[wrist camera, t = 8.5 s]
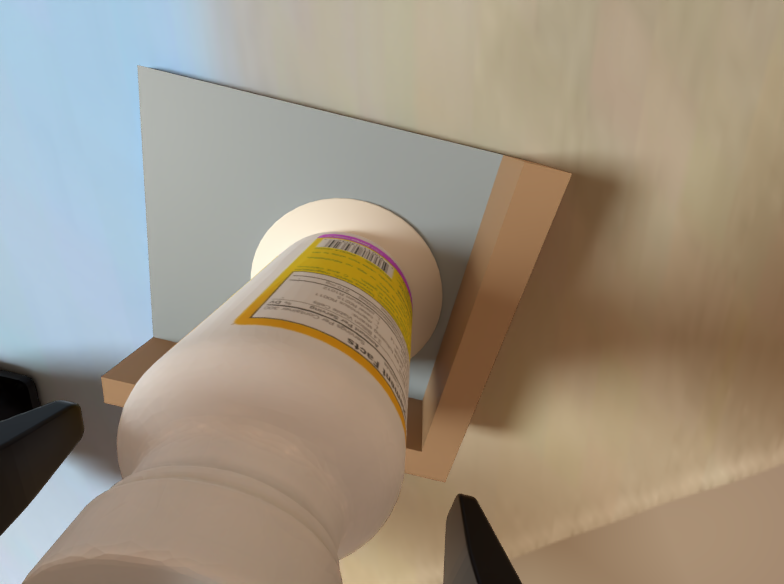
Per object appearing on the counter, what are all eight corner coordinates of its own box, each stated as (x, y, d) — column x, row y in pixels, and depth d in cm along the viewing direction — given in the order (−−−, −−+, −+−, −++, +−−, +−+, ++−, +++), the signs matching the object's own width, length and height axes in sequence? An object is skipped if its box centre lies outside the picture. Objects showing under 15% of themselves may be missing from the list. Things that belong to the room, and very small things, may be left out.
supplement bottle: (308, 370, 19) (120, 756, 7) (248, 253, 17) (-172, 546, 5) (433, 338, 18) (448, 751, 6) (386, 206, 15) (257, 455, 4)
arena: (441, 419, 21) (445, 482, 17) (161, 354, 20) (104, 402, 17) (536, 163, 15) (572, 173, 11) (147, 67, 15) (56, 47, 11)
